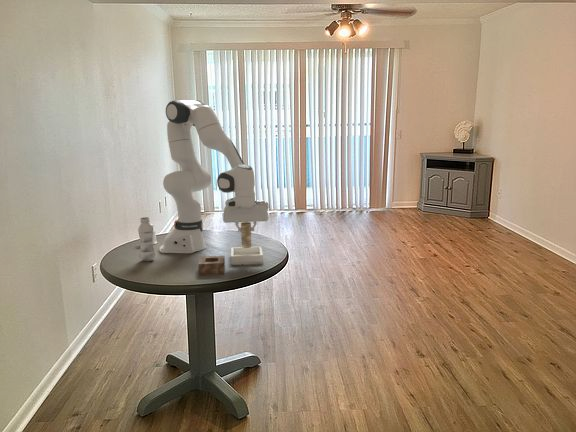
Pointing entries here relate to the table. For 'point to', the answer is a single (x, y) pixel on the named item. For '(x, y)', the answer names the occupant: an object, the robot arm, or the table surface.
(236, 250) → the tray
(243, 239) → the pin
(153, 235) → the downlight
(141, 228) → the plastic bottle
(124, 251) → the table surface
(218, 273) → the socket
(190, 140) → the robot arm
